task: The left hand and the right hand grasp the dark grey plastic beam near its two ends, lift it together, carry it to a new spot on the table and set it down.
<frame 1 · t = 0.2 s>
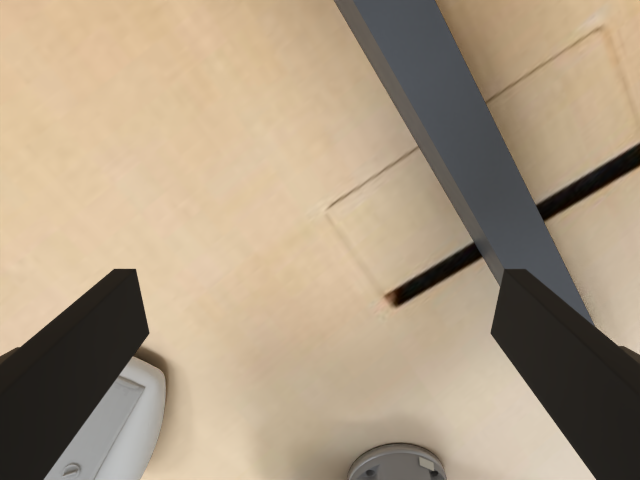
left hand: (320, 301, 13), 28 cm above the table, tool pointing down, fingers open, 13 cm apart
beam: (401, 64, 35), on the table
projector: (113, 406, 51), on the table
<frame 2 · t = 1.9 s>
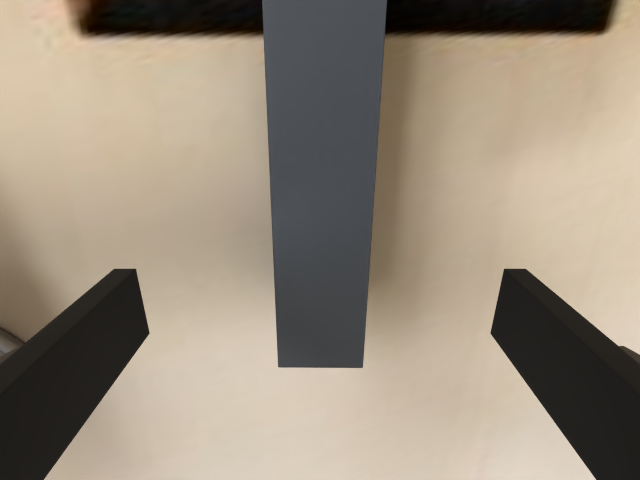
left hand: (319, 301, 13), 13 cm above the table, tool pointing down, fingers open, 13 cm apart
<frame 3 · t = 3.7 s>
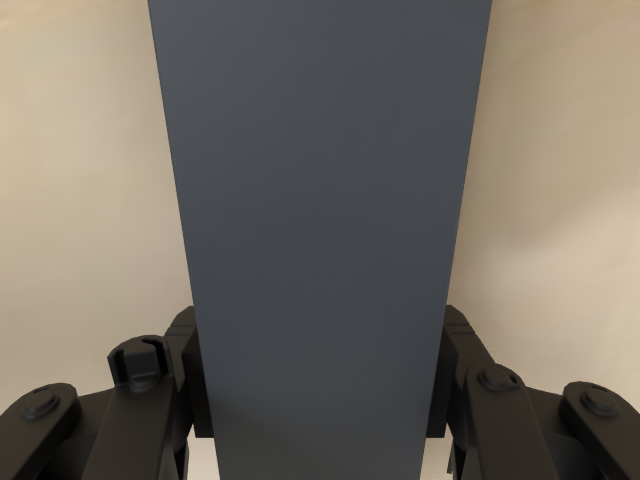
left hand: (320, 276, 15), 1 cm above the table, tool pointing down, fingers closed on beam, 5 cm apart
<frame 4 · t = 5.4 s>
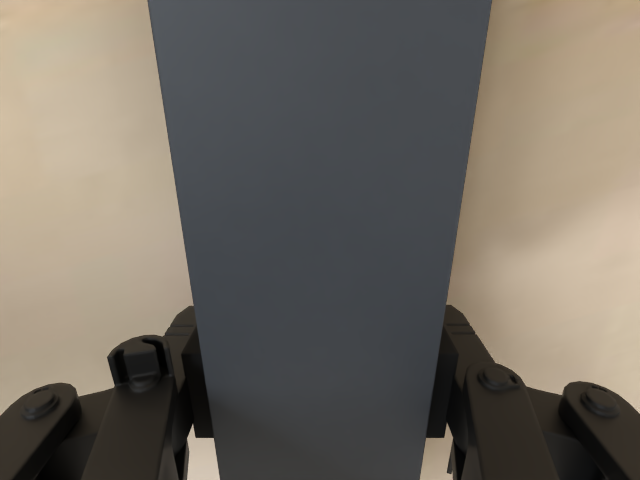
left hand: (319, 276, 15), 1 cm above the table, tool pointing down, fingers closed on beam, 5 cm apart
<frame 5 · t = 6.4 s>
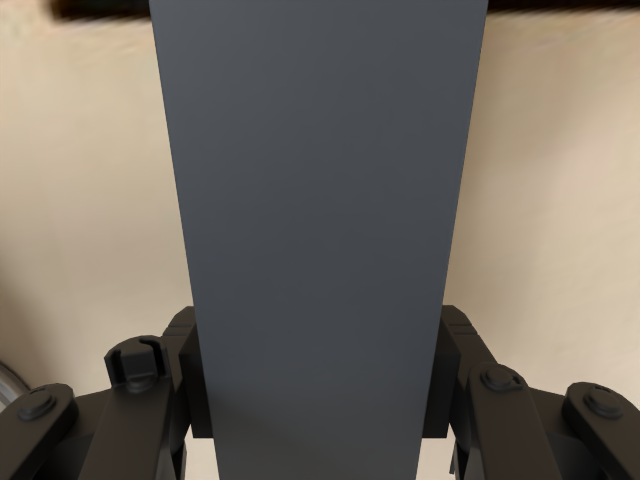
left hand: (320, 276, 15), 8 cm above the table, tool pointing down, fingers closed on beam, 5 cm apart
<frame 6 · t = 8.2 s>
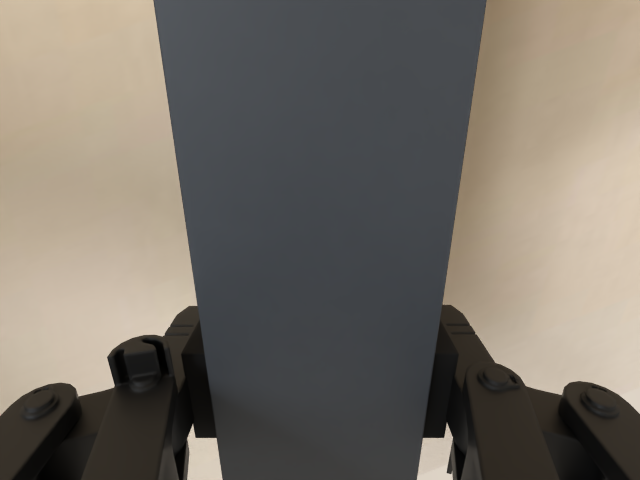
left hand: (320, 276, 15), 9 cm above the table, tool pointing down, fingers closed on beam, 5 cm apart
when the left hand's fingers open (2 cm above the table, at t = 9.5 s): beam stays where it is, on the table.
when the right hand's fingers open (4 cm above the table, at t = 9.7 s): beam stays where it is, on the table.
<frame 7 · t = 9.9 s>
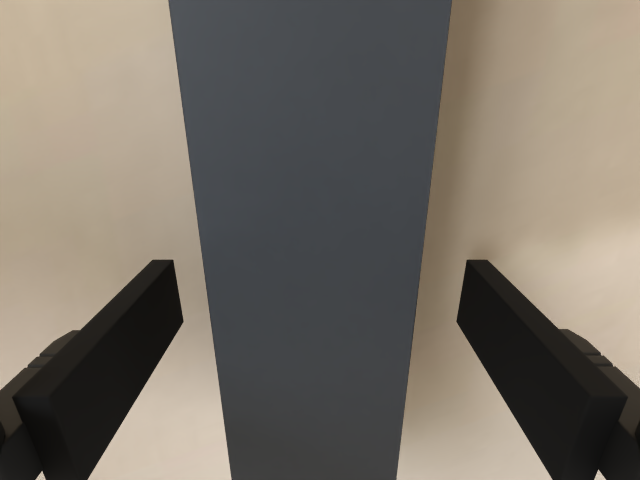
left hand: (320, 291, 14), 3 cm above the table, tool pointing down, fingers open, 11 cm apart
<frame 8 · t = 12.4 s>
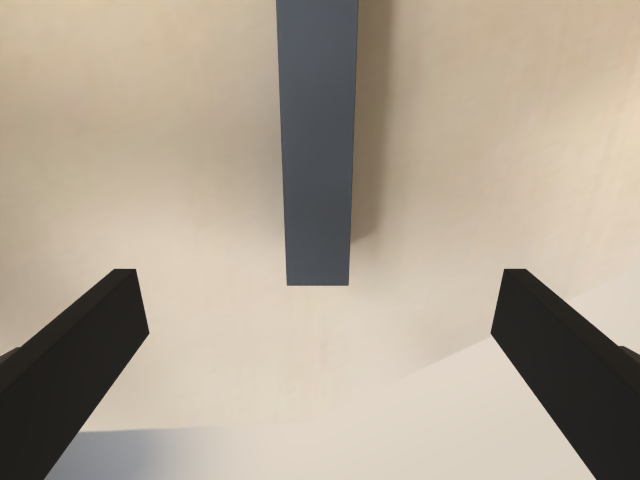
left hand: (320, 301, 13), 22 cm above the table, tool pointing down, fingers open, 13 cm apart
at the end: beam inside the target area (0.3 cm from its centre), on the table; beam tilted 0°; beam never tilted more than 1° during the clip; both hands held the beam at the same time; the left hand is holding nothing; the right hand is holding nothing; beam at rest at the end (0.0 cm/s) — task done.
